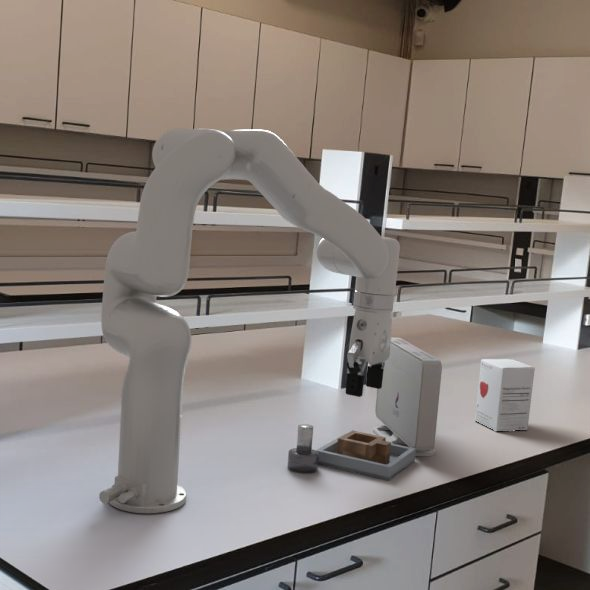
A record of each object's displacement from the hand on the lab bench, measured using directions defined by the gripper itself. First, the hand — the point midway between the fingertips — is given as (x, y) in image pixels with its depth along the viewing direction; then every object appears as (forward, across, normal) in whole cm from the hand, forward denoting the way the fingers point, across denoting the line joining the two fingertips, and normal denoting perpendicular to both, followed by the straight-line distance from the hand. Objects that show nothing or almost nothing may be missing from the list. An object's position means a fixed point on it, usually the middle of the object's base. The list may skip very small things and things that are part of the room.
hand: (363, 391), depth 165 cm
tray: (+14, +1, -2) cm, 14 cm away
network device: (+14, +19, -2) cm, 23 cm away
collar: (+13, +1, 0) cm, 13 cm away
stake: (+14, -10, +6) cm, 19 cm away
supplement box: (+12, +46, -16) cm, 50 cm away
